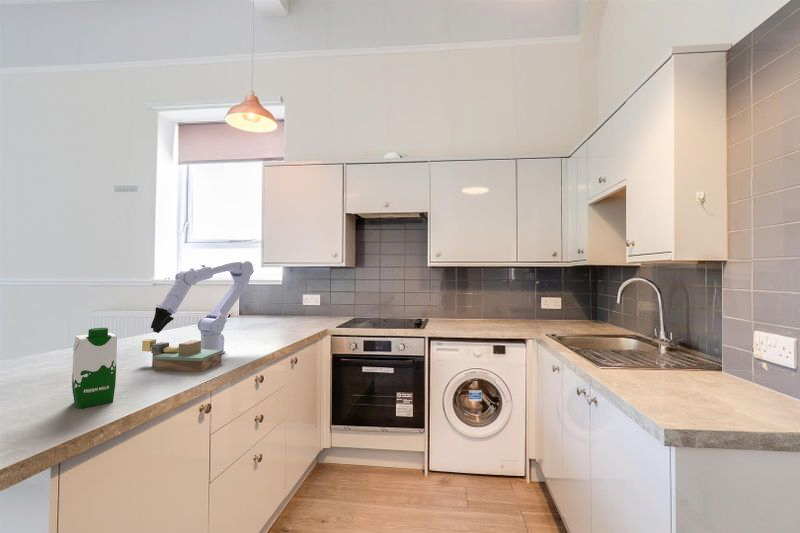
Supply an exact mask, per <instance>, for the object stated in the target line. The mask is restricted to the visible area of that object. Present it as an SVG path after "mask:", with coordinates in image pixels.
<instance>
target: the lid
mask: <svg viewBox="0 0 800 533" xmlns="http://www.w3.org/2000/svg"><path fill="white" fill-rule="evenodd" d="M178 347H179V351H178V352H166V353H163V354H160V355H156V356H154V359H163V360H188V361H203V360H205V359H208V358H210V357H213V356H215V355H218V354H220V353H222V352H223V350H213V349H201V340H193V339H191V340H187V341H184V342H180V343H178ZM222 354H223V353H222Z"/></svg>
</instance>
